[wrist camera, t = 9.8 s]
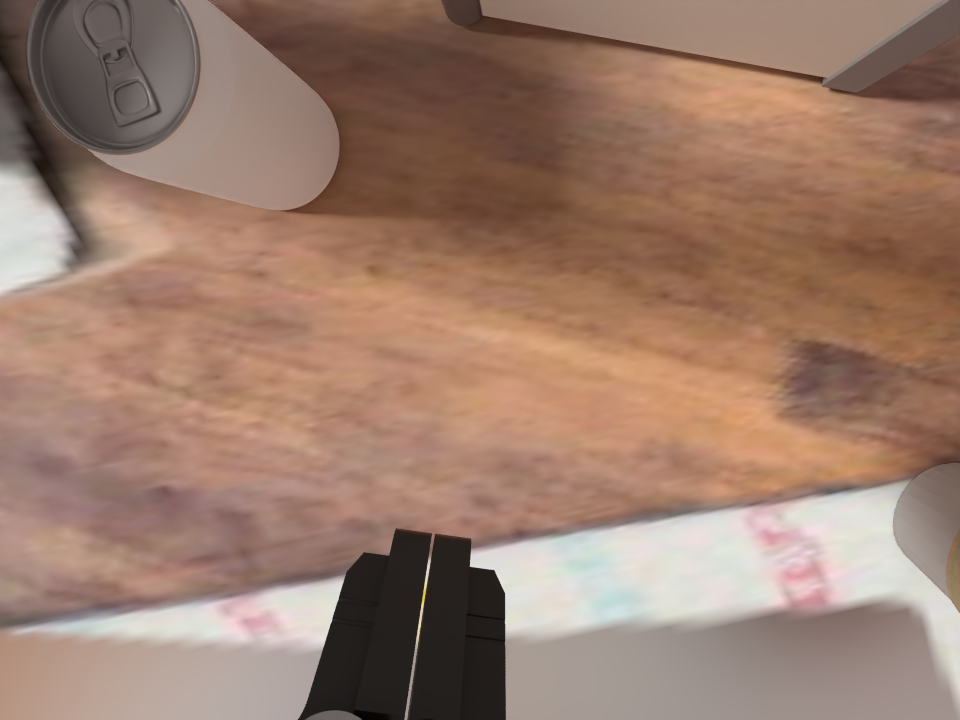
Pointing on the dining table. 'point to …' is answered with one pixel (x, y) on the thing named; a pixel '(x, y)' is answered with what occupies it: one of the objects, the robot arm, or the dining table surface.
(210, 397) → the dining table surface
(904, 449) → the dining table surface
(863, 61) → the gate
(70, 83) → the can
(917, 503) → the coffee cup
